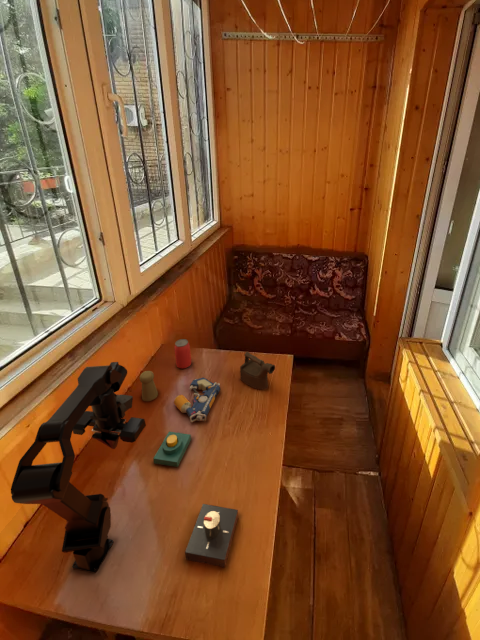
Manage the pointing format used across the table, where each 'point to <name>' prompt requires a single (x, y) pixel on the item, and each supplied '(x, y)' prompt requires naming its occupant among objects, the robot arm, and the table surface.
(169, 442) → the cylinder
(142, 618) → the table surface
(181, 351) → the beer can
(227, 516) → the black flat block
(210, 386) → the toy gun
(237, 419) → the table surface
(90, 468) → the table surface
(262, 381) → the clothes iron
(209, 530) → the nozzle dial
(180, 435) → the green block
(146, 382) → the cork
